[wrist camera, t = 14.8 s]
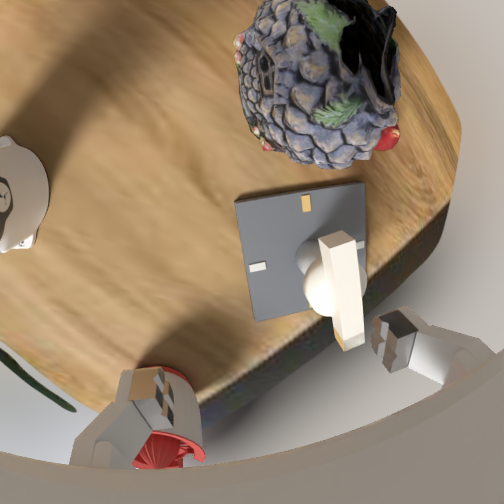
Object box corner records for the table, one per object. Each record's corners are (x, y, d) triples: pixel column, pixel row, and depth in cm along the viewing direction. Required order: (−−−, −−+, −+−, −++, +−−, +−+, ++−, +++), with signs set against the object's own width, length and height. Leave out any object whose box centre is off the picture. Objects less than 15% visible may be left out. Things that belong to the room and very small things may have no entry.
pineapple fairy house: (210, 35, 32) (228, -73, 9) (311, 21, 33) (412, -53, 10) (247, 171, 40) (312, 220, 17) (343, 148, 41) (472, 175, 18)
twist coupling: (290, 237, 34) (306, 256, 29) (350, 217, 35) (374, 232, 29) (312, 332, 40) (326, 358, 35) (362, 312, 41) (380, 335, 35)
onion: (350, 146, 41) (378, 150, 34) (351, 110, 39) (380, 107, 32) (381, 150, 42) (411, 156, 35) (382, 116, 40) (413, 116, 33)
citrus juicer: (176, 418, 57) (178, 495, 39) (109, 383, 50) (93, 464, 32) (222, 385, 55) (235, 471, 36) (151, 342, 48) (138, 436, 30)
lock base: (253, 317, 49) (265, 353, 41) (233, 201, 41) (243, 219, 33) (360, 290, 51) (386, 318, 43) (360, 181, 43) (394, 194, 35)
